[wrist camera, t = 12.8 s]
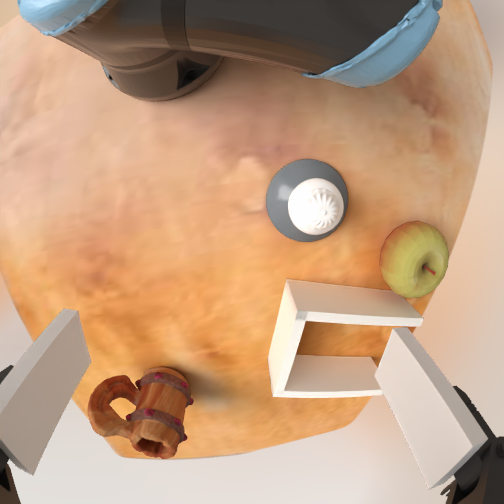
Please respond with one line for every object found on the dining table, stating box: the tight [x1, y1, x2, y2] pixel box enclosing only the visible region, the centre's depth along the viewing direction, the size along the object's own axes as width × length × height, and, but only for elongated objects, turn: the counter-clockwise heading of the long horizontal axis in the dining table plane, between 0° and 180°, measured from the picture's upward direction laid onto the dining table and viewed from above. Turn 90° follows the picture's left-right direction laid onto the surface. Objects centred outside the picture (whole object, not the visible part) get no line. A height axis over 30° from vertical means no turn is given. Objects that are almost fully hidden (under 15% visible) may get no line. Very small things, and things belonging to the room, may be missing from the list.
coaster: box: [266, 159, 348, 242], centre depth 34 cm, size 10×10×1 cm
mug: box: [88, 367, 194, 459], centre depth 35 cm, size 15×8×15 cm, turn 61°
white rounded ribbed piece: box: [288, 178, 344, 235], centre depth 30 cm, size 6×6×7 cm
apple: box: [380, 221, 449, 298], centre depth 33 cm, size 10×10×8 cm
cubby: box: [268, 279, 424, 398], centre depth 36 cm, size 13×17×8 cm
